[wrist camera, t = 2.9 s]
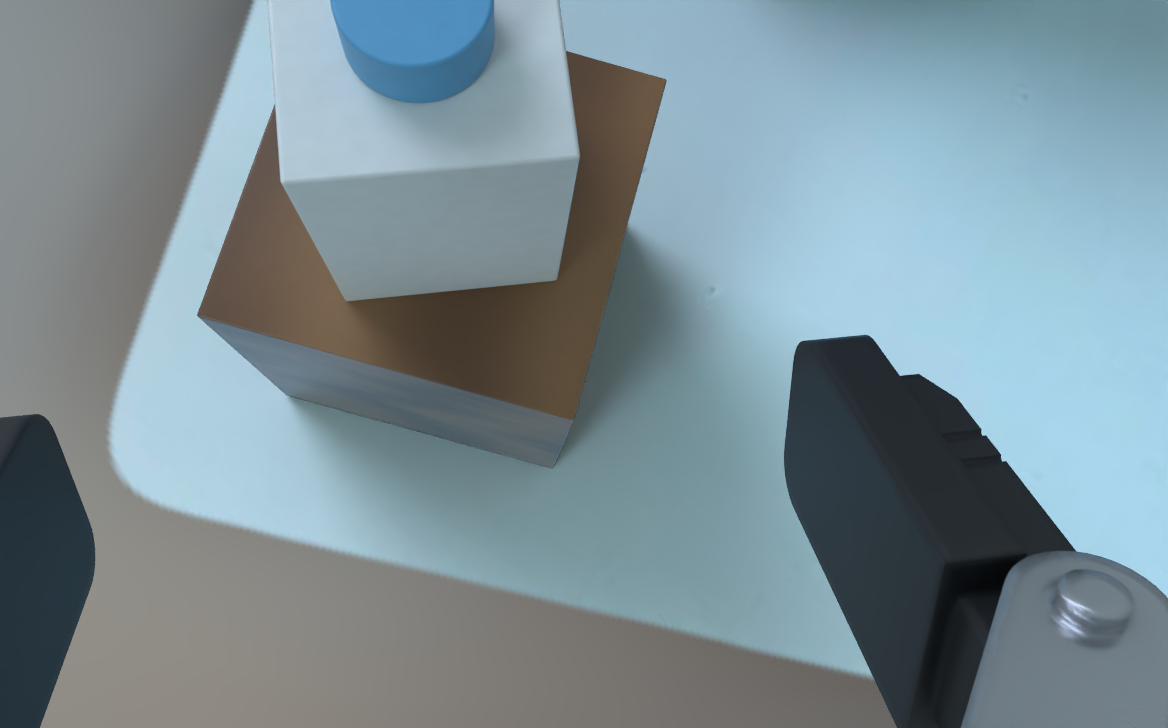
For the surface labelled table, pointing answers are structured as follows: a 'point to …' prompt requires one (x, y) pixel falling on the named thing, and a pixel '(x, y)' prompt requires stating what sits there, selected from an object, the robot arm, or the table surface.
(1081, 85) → the table surface
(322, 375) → the brown box
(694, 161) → the table surface
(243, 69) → the table surface
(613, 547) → the table surface
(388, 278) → the white box
